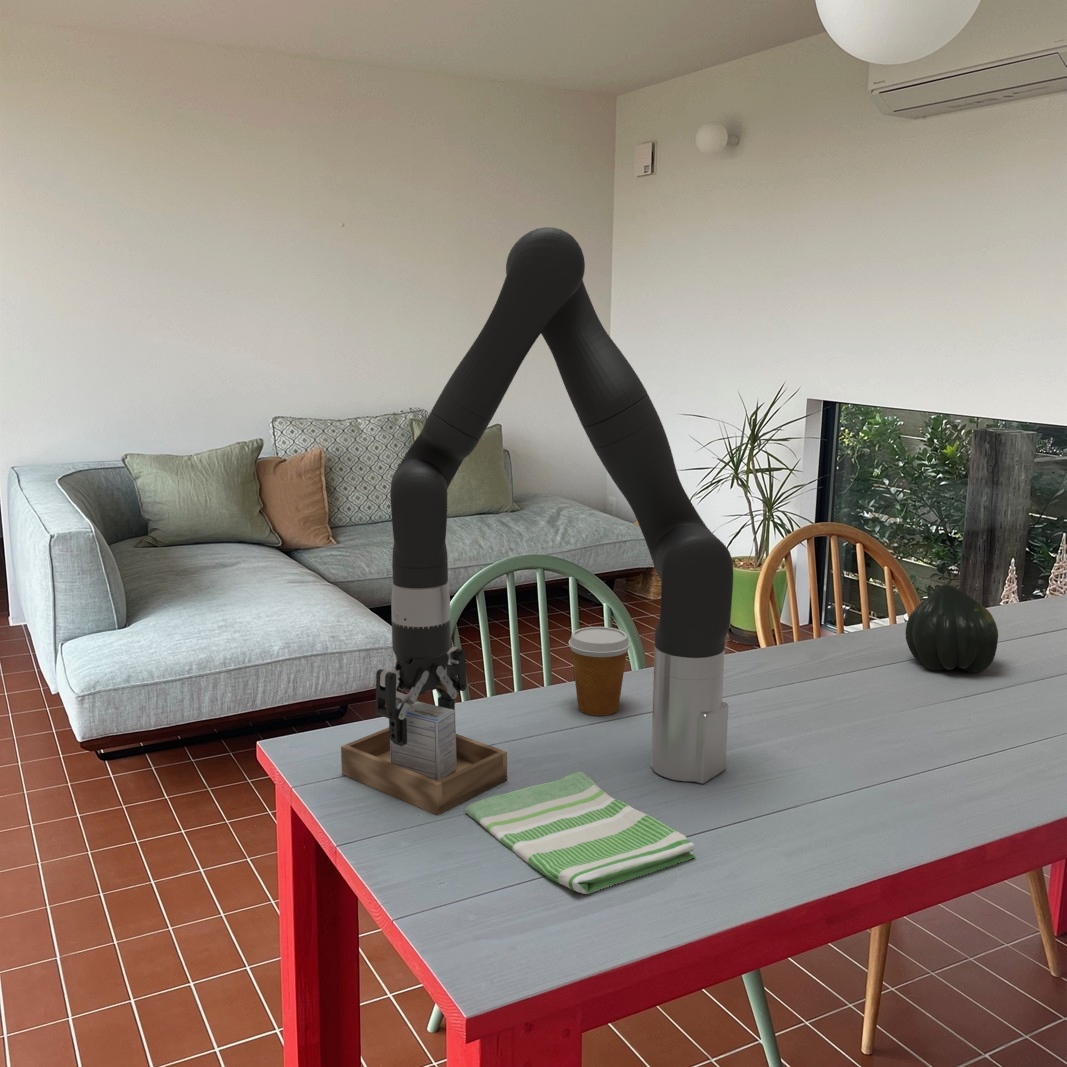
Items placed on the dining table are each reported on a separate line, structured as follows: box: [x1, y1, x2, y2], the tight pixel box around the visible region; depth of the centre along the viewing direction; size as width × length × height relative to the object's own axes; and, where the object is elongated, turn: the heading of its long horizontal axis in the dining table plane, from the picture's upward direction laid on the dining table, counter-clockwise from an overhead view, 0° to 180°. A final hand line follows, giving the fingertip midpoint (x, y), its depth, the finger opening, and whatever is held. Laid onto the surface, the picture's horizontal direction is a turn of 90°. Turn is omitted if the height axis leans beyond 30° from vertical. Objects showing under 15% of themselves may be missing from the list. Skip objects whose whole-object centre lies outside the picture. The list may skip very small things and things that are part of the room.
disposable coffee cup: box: [568, 626, 631, 716], centre depth 163 cm, size 10×10×12 cm
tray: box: [340, 727, 508, 816], centre depth 140 cm, size 18×13×4 cm
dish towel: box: [464, 771, 696, 895], centre depth 125 cm, size 18×23×3 cm
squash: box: [905, 583, 999, 674], centre depth 184 cm, size 14×15×15 cm
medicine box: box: [390, 700, 457, 781], centre depth 139 cm, size 8×4×9 cm, turn 60°
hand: (423, 734), depth 139 cm, fingers open, 8 cm apart
